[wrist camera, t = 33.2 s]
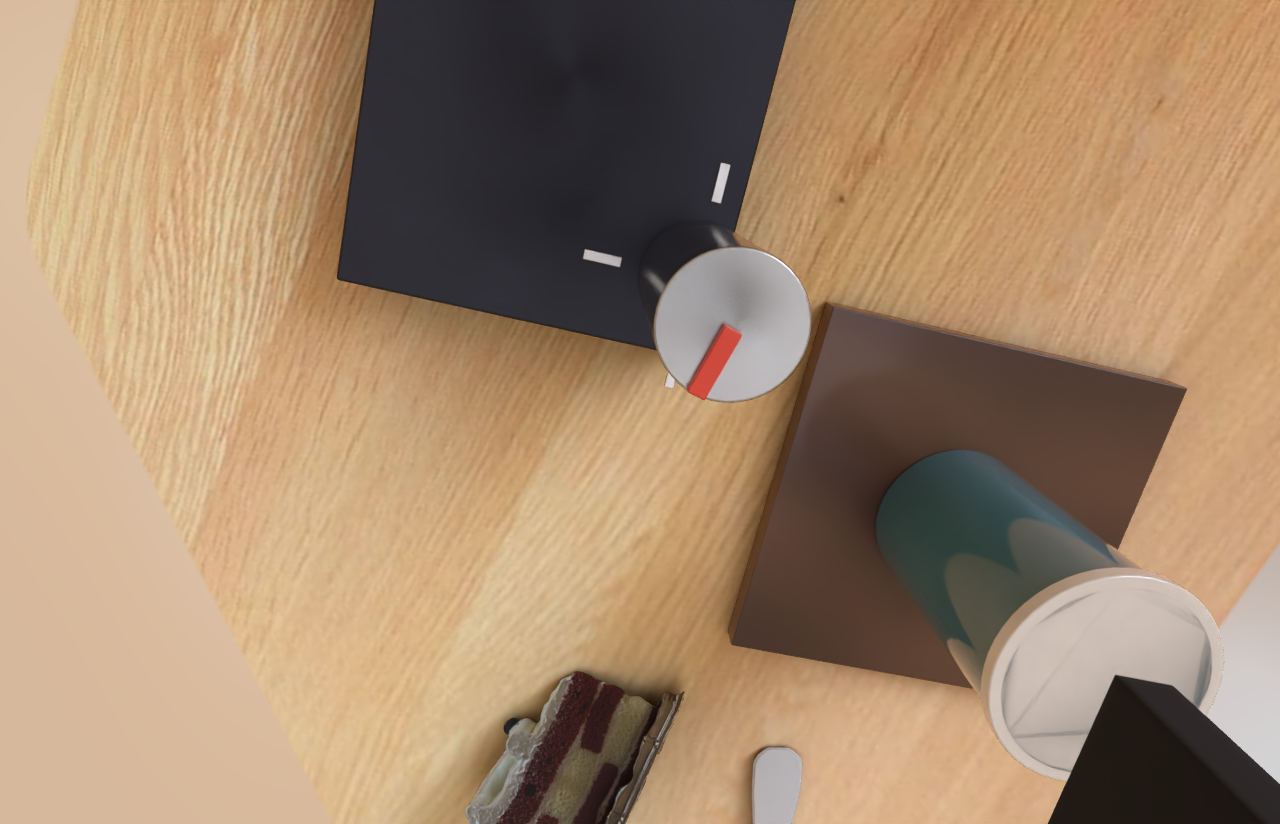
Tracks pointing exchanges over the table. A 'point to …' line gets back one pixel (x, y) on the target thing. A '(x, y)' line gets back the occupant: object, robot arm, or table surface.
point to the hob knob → (722, 312)
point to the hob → (551, 148)
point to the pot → (1037, 605)
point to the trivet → (900, 437)
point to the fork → (775, 785)
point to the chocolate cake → (576, 757)
